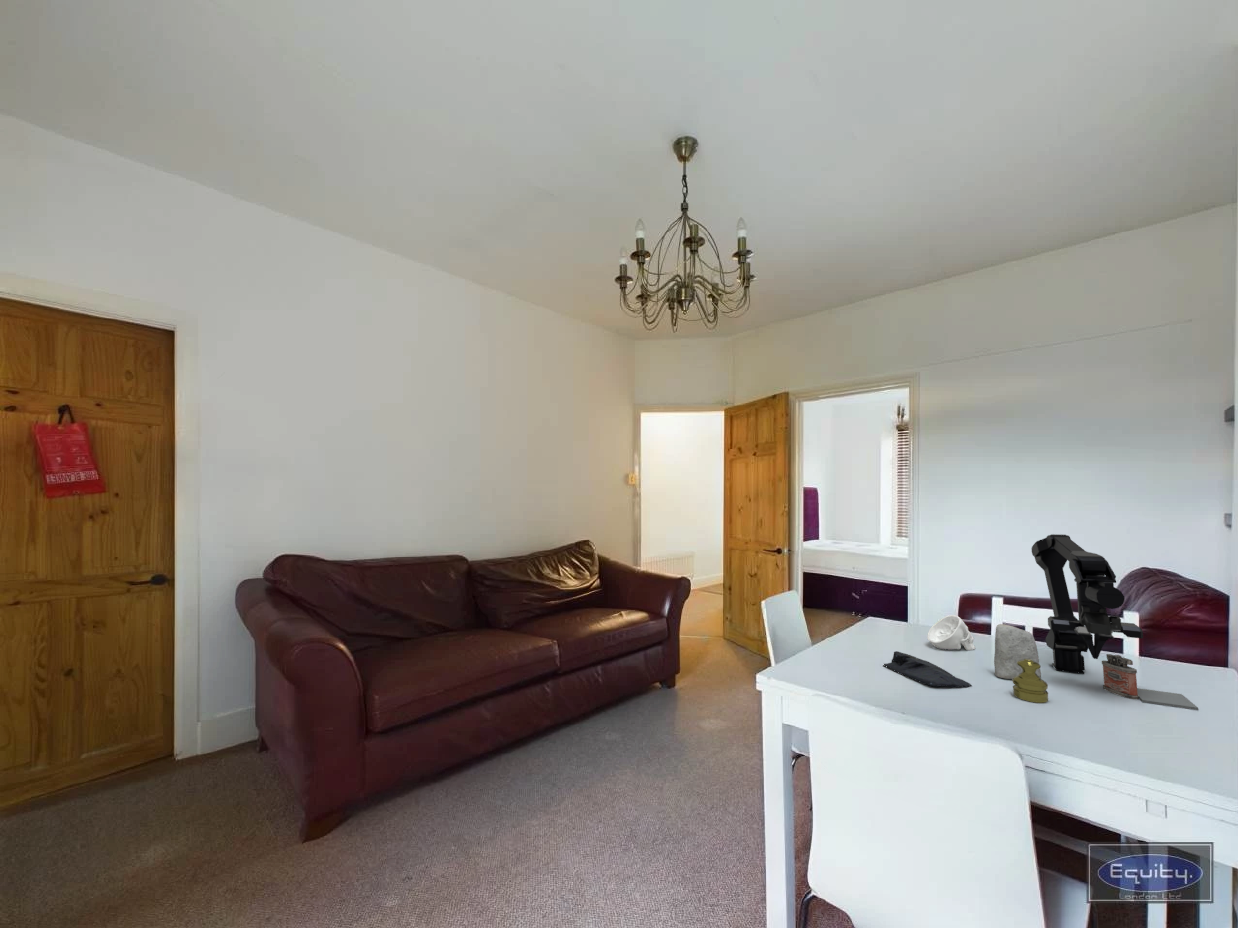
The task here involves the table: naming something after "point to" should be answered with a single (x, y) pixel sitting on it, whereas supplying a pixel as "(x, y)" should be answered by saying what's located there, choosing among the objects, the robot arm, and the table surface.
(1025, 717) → the table surface
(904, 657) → the dark slate chunk
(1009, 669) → the decorative stone
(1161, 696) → the mat
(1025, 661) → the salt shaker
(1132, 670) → the lighter
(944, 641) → the skull bowl
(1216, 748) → the table surface
